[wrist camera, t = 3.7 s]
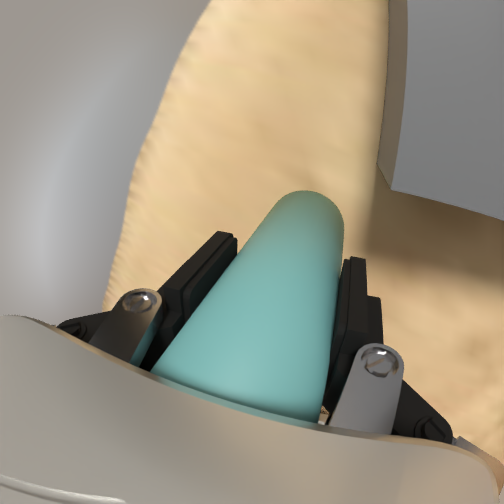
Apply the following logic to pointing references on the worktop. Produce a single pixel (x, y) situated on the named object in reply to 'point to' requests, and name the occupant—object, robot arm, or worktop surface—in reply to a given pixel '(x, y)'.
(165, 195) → the worktop surface
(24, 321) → the robot arm
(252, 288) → the peg
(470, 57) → the socket block
